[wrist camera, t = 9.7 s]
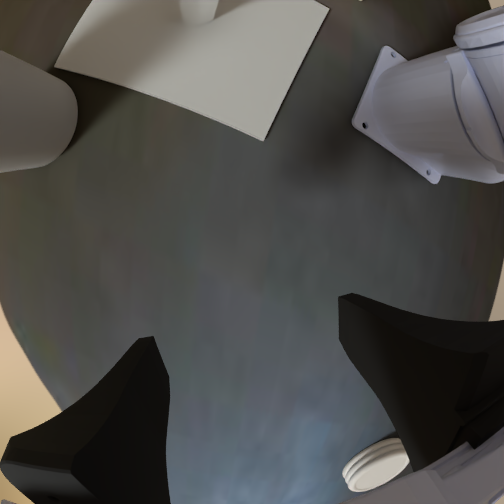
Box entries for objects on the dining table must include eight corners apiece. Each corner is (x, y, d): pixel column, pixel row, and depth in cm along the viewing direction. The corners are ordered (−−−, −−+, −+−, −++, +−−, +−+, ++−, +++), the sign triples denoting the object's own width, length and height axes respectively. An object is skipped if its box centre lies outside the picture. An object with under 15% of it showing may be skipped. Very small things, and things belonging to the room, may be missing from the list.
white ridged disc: (392, 463, 36) (401, 477, 33) (336, 483, 34) (343, 499, 31) (409, 427, 33) (421, 443, 30) (347, 450, 31) (357, 469, 28)
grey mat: (327, 10, 17) (329, 8, 16) (262, 141, 19) (263, 140, 19) (138, -53, 12) (137, -56, 12) (56, 67, 15) (53, 66, 14)
